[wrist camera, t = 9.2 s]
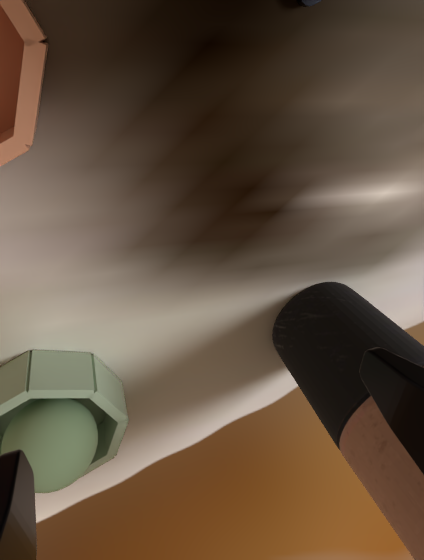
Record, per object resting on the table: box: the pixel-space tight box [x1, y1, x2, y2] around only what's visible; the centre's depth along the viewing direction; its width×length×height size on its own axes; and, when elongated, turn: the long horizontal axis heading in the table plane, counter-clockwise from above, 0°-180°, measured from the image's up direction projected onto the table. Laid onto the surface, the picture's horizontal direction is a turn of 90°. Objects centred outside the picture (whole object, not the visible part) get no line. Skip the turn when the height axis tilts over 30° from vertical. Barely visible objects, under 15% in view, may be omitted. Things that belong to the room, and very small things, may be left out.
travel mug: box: [272, 282, 424, 560], centre depth 20 cm, size 8×8×20 cm
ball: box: [1, 398, 98, 493], centre depth 21 cm, size 5×5×5 cm
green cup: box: [0, 350, 129, 479], centre depth 22 cm, size 8×8×3 cm
